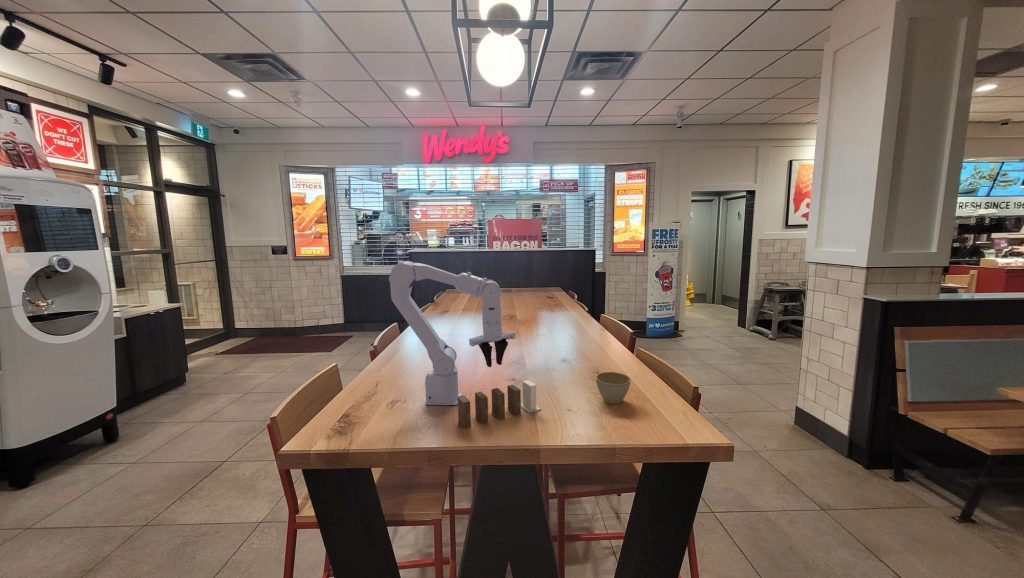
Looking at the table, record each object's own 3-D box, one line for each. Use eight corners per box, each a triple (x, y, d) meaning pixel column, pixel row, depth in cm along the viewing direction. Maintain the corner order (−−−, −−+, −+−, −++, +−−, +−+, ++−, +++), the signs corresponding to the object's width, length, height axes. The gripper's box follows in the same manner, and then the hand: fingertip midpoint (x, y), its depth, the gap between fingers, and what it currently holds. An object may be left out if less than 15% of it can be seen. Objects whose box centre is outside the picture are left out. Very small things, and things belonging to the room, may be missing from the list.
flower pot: (589, 401, 115) (589, 378, 114) (606, 391, 122) (606, 369, 121) (620, 411, 108) (620, 386, 107) (636, 400, 116) (636, 377, 115)
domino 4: (515, 415, 107) (514, 390, 106) (507, 409, 111) (507, 385, 110) (520, 413, 108) (520, 389, 107) (513, 407, 112) (512, 384, 111)
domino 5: (530, 409, 109) (530, 386, 108) (522, 404, 113) (522, 381, 112) (536, 408, 110) (536, 384, 109) (528, 402, 114) (527, 380, 113)
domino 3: (499, 419, 105) (498, 394, 104) (492, 413, 109) (491, 389, 108) (504, 417, 106) (504, 393, 105) (497, 411, 109) (497, 387, 108)
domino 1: (464, 428, 100) (463, 402, 99) (458, 421, 104) (457, 396, 103) (470, 426, 101) (470, 401, 100) (464, 419, 105) (463, 395, 104)
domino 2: (482, 423, 102) (481, 398, 101) (475, 417, 106) (474, 392, 105) (488, 422, 103) (487, 397, 102) (481, 415, 107) (480, 391, 106)
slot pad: (529, 413, 108) (529, 412, 108) (517, 404, 114) (517, 403, 114) (541, 409, 110) (541, 408, 110) (529, 401, 115) (529, 400, 115)
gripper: (474, 327, 109) (477, 373, 110) (519, 320, 115) (521, 364, 117) (465, 322, 115) (468, 366, 117) (508, 316, 122) (510, 358, 123)
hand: (494, 365), depth 117 cm, fingers open, 3 cm apart
